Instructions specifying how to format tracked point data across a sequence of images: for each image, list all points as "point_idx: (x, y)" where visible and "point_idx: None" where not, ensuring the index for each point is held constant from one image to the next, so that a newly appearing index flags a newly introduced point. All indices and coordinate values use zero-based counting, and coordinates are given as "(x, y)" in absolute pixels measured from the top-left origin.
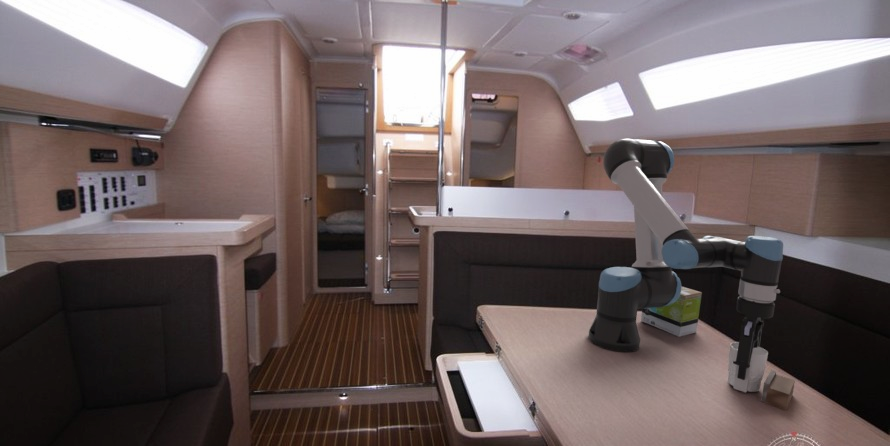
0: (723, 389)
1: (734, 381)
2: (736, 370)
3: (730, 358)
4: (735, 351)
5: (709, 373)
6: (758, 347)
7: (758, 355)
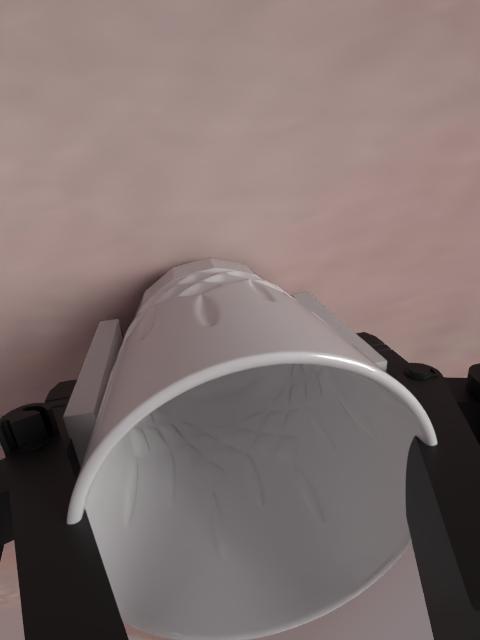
0: (66, 277)
1: (93, 341)
2: (76, 386)
3: (144, 339)
4: (85, 455)
5: (224, 133)
6: (403, 529)
7: (145, 628)
